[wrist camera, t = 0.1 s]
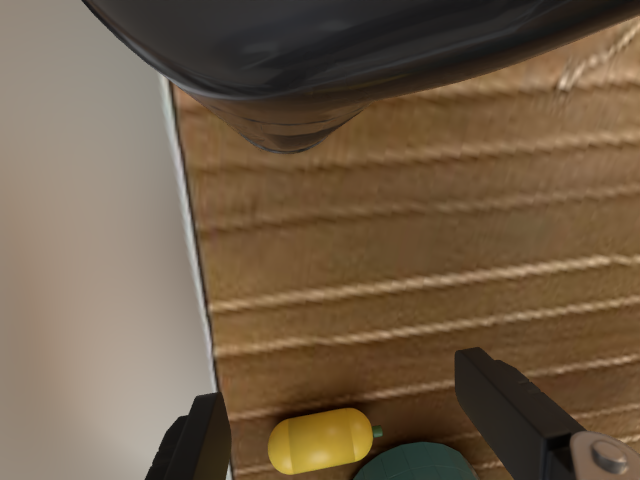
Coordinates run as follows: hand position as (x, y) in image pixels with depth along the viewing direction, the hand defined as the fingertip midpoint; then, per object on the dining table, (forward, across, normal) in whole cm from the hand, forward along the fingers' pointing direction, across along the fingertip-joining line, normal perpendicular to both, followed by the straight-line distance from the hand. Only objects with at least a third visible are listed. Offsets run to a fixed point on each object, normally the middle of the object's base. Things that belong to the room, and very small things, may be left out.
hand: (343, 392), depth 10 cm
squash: (+17, +1, +18) cm, 25 cm away
